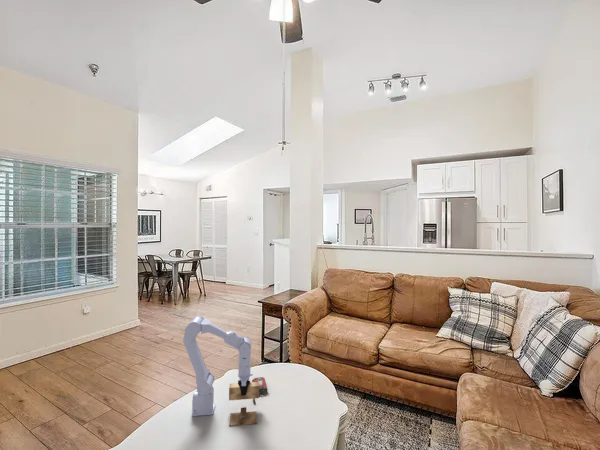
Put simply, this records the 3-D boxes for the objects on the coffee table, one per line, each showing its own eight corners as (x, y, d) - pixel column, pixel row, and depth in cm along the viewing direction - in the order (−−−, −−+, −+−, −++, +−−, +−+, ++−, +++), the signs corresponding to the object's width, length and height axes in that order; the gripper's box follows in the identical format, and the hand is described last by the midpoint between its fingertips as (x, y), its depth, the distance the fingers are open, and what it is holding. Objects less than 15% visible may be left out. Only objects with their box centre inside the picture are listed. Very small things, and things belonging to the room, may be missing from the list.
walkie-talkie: (248, 383, 163) (252, 404, 143) (248, 375, 163) (252, 396, 143) (264, 381, 165) (269, 402, 146) (264, 373, 165) (269, 393, 145)
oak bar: (228, 400, 137) (229, 387, 137) (229, 396, 140) (229, 383, 140) (258, 398, 139) (259, 385, 139) (258, 393, 143) (258, 381, 143)
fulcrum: (228, 426, 128) (229, 419, 127) (230, 414, 135) (230, 407, 135) (256, 423, 129) (256, 417, 129) (256, 412, 137) (256, 405, 137)
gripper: (252, 371, 133) (252, 401, 133) (253, 357, 147) (252, 383, 148) (237, 372, 132) (236, 402, 132) (239, 357, 146) (238, 384, 146)
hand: (243, 392), depth 140 cm, fingers closed on oak bar, 3 cm apart
